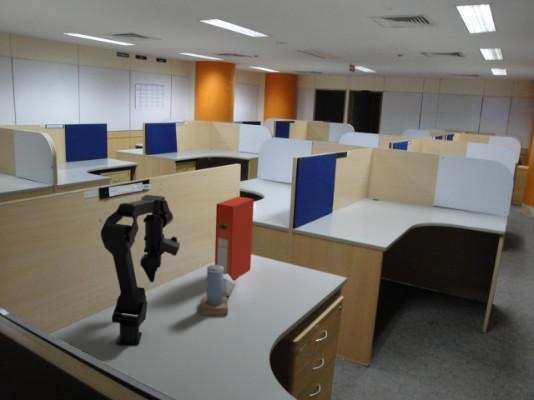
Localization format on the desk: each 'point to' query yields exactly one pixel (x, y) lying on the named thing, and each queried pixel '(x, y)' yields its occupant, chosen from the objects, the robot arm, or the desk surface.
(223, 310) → the base slab
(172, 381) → the desk surface
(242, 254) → the file binder
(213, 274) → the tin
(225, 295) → the die
